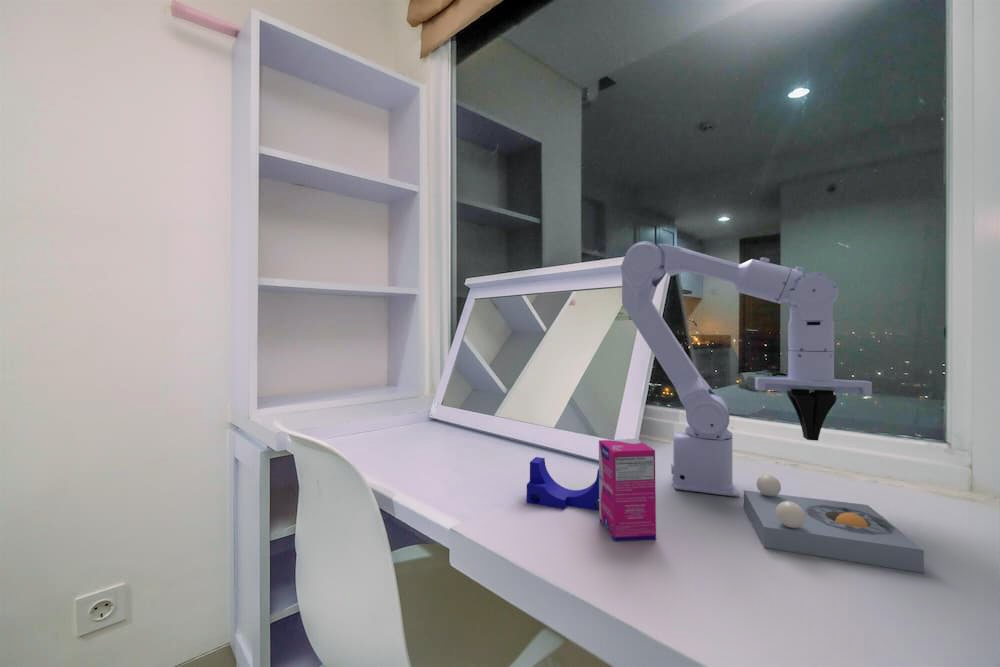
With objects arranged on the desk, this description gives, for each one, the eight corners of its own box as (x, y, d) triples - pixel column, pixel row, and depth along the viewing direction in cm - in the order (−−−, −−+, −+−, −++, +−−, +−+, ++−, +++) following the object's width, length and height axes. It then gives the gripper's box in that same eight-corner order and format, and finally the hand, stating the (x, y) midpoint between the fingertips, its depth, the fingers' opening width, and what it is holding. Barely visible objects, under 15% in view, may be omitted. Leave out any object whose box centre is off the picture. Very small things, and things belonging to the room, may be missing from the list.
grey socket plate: (764, 547, 51) (764, 526, 51) (743, 506, 63) (743, 490, 63) (924, 572, 45) (923, 549, 45) (867, 523, 57) (867, 504, 57)
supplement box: (597, 521, 57) (597, 438, 58) (638, 520, 58) (639, 438, 58) (612, 542, 52) (612, 450, 52) (658, 540, 52) (658, 449, 52)
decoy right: (779, 530, 50) (779, 504, 50) (772, 519, 53) (772, 496, 53) (809, 534, 49) (809, 508, 49) (801, 523, 51) (801, 499, 52)
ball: (879, 533, 50) (862, 553, 51) (873, 518, 52) (857, 538, 54) (846, 515, 51) (830, 535, 52) (842, 502, 54) (827, 521, 55)
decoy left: (759, 498, 60) (759, 477, 60) (754, 490, 62) (754, 470, 62) (783, 501, 59) (783, 479, 59) (777, 493, 61) (777, 473, 61)
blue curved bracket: (526, 503, 64) (526, 464, 64) (535, 493, 68) (535, 456, 68) (606, 517, 59) (606, 475, 59) (610, 505, 63) (610, 466, 63)
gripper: (762, 351, 63) (762, 440, 63) (882, 352, 58) (882, 450, 58) (752, 349, 70) (752, 430, 70) (859, 351, 65) (859, 438, 65)
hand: (810, 438), depth 64 cm, fingers closed
